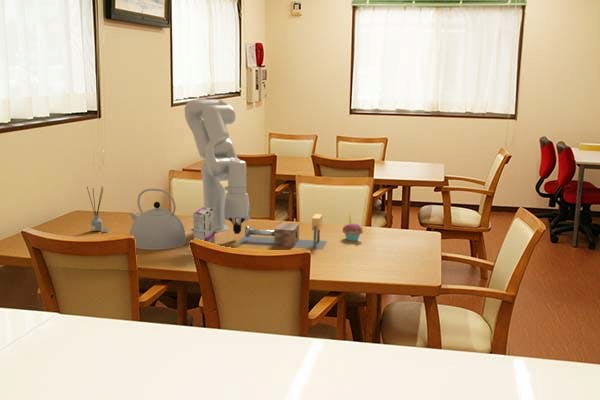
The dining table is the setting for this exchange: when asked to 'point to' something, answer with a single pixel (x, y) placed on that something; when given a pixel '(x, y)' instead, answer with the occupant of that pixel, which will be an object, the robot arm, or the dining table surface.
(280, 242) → the hitch block
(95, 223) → the reed diffuser
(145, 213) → the kettle
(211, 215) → the candy bar box
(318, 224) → the beige small block
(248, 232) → the pin
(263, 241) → the base mat
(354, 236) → the cupcake
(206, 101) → the robot arm
